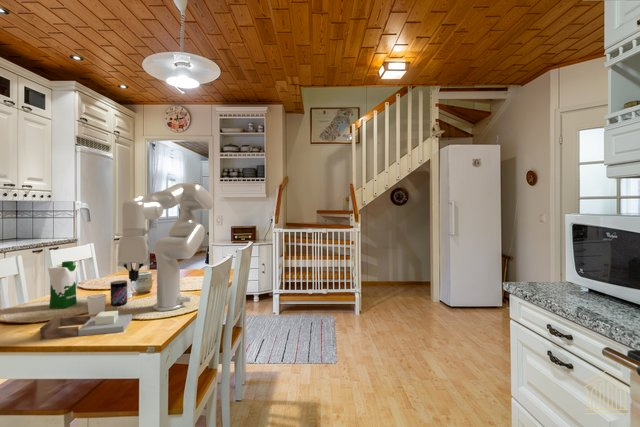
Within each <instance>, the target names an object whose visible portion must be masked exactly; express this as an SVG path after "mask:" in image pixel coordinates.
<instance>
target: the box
mask: <svg viewBox="0 0 640 427" xmlns="http://www.w3.org/2000/svg"><path fill="white" fill-rule="evenodd" d="M91 318H92V315H91V314H86V315H85V314H83V315H72V316H70V315H69V316H63V314H57V315H56V316H55V317H53V318H52V319H51V320H49V321H48V322H46V323H45V324H43V325H42V326H41V327H40V328H39V329H40V330H39V332H40V333H39V336H40V337H39V338H40V340H49V339H50V340H51V339H60V338H70V337H79V336H78V330H79V329H80V328H79V326H75V325H84V324H85V323H86V322H87V321H88V320H90V319H91ZM73 325H74V326H73ZM65 326H67V327H65Z"/></svg>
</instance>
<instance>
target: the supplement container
mask: <svg viewBox="0 0 640 427" xmlns="http://www.w3.org/2000/svg"><path fill="white" fill-rule="evenodd" d="M126 304H128V280H127V279H126V280H125V279H123V280H121V279H120V280H113V281H111V282H110V306H112V307H121V305H122V306H125V305H126Z"/></svg>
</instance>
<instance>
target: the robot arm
mask: <svg viewBox="0 0 640 427" xmlns="http://www.w3.org/2000/svg"><path fill="white" fill-rule="evenodd" d="M178 205H179V212H180V213H179V217H178V219H177V220H176V221H175V222H174V224H173V225H172V227H171V228H170V230H169V232H168V236H165V237H164V236H163V237H161V238H158V239H157V240H156V241H155V243H154V247H153V248H154V249H153V250H154V255H155V260H156V303H155V304H153V306H152V309H153V310H154V311H160V312H165V311H166V312H167V311H168V312H169V311H173V310H178V309H181V308H182V307H184V303H190V302H191V297H188V296H185V297H183V296H182V294H181V277H180V276H181V267H180V263H179V261H178V260H189V259H191V258H192V257H193V256H194V255H195V254H196V252H197V251H198V249H199V247H200V246H201V244H202V242H203V241H204V239H205V233H206V230H205V227H204V225H203V224H201V223H199V222H198V220H197V217H196V215H195V214H194V212H193V211H199V212H200V211H202V212H203V211H205V212H206V211H210V210H212V209H213V207H214V205H215V201H214V198H213V196H212V194H211V193H210V192H208V191H207V190H206V188H204V187H203V186H202V185H201V184H199V183H196V182H195V183H193V182H183V183H182V182H179V183H175V184H174V185H172V186H170V187H167V188H165V189H163V190H159V191H155V192H152V193H147V194H144V195H143V194H142V195H139V196H137V197H135V198H133V199H130V200H126V201H124V202H122V206H121V207H122V208H121V210H122V212H121V213H122V218H121V220H122V222H121V223H122V230H121V231H122V232H121V234H122V236H121V237H120V239H119V243H118V250H117V251H118V252H117V264H116V265H117V266H118V267H122V268H123V267H124V268H125V269H126V270H127V271H128V279H129V281H130V282H137V281H138V279H139V273H140V269H141V268H142V267H145V266H148V265H150V264H151V263H150V246H149V244H150V243H149V238H148V236H146V235H147V234H150V229H146V220H157V219H160V217H162V215H163V214H164V210H168V209H169V210H170V209H173V208H174V207H176V206H178ZM177 259H178V260H177ZM133 264H135V266H134V267H133Z"/></svg>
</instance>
